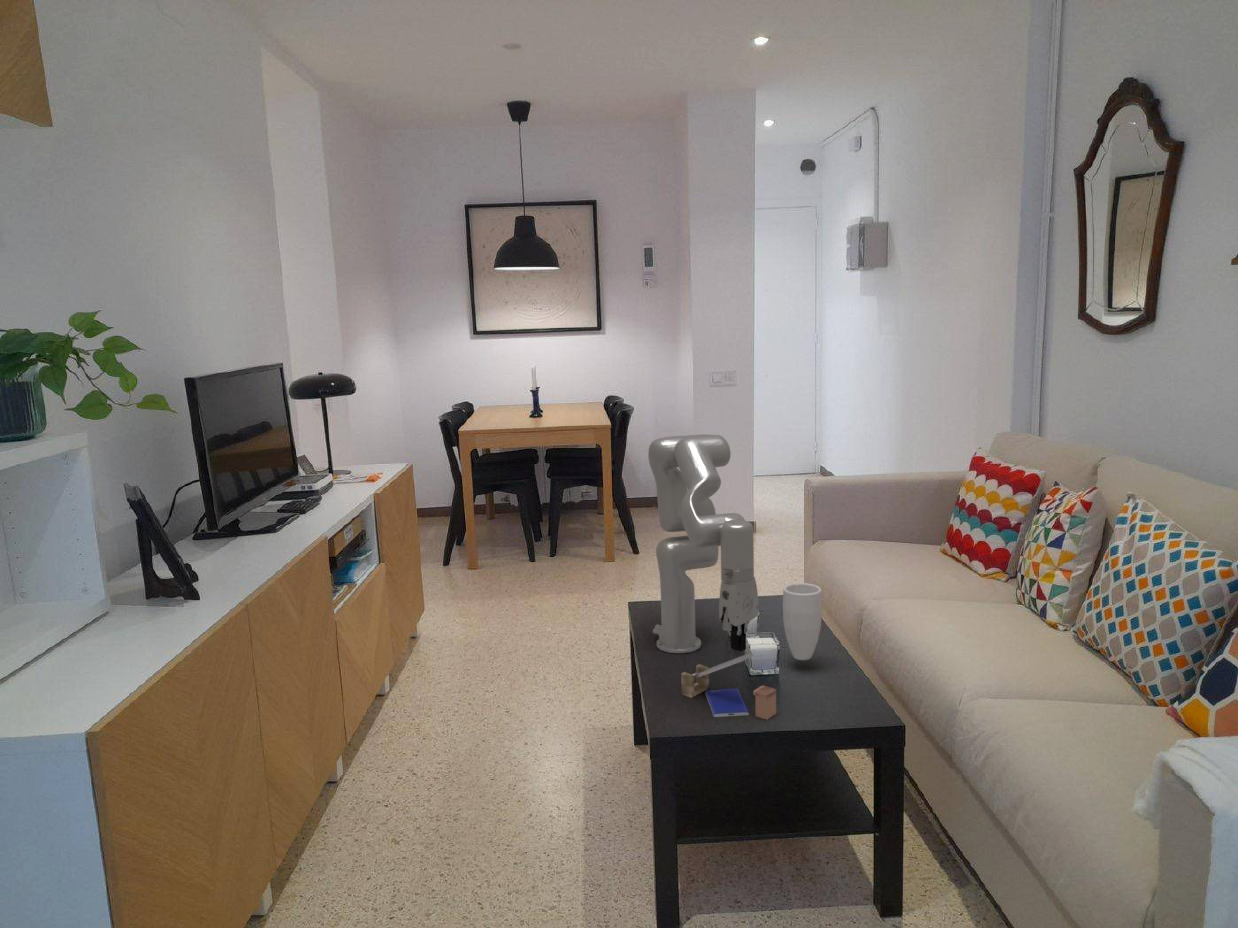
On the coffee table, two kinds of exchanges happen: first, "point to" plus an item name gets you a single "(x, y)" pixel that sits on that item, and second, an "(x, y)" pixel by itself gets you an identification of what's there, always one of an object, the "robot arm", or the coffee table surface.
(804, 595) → the cup
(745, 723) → the coffee table surface
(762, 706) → the block
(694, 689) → the pivot bracket
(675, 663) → the coffee table surface
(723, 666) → the grey long flat bar
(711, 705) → the hard drive
